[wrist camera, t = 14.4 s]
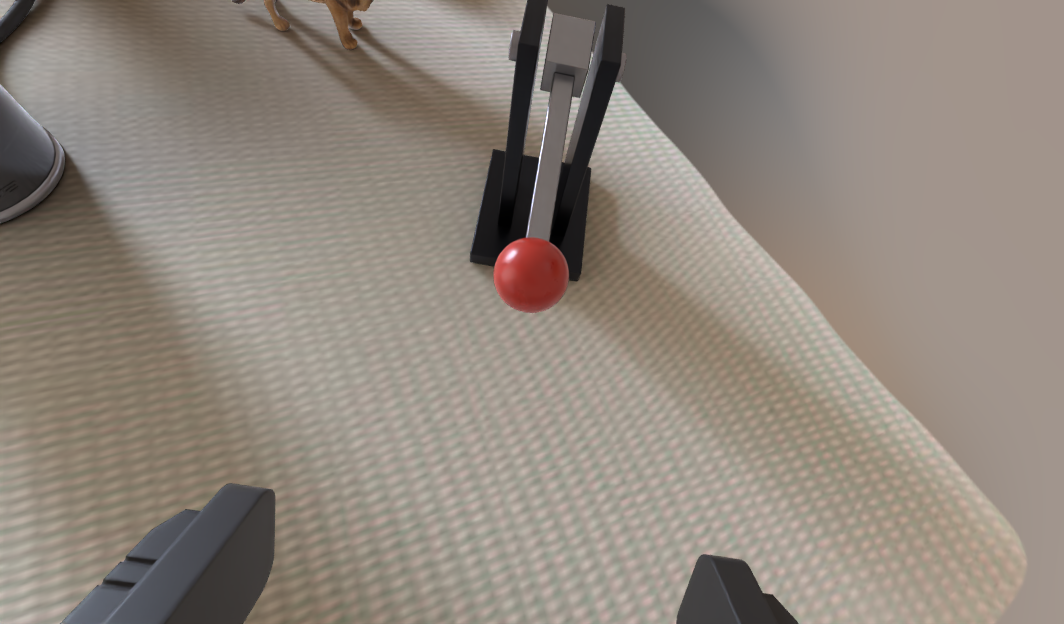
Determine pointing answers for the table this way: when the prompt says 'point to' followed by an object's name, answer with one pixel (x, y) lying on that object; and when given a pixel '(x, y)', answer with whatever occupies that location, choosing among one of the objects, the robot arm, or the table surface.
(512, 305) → the switch
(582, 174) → the switch bracket
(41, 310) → the table surface
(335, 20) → the lion figurine
